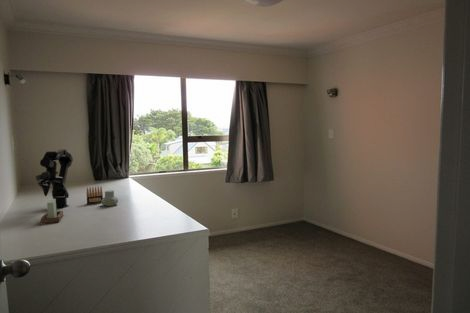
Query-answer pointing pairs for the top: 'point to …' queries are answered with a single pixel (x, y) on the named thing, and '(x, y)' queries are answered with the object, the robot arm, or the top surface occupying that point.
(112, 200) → the air freshener
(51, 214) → the pale green rectangular block
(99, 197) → the ammunition clip
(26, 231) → the top surface
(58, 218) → the brown wooden tray
